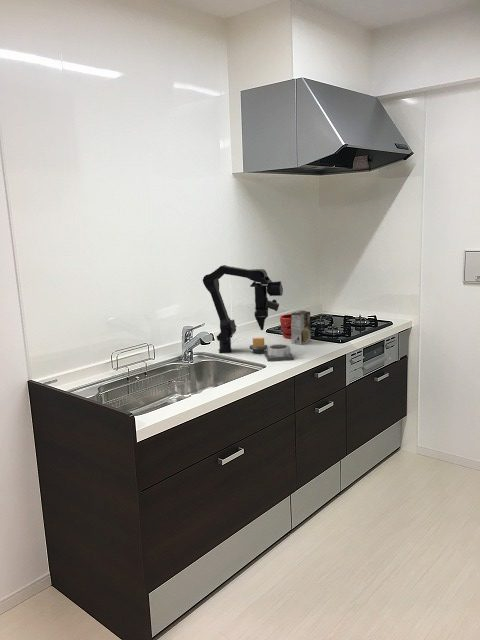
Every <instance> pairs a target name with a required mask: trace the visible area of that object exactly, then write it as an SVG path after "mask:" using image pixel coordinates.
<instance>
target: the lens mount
mask: <svg viewBox="0 0 480 640" xmlns="http://www.w3.org/2000/svg"><path fill="white" fill-rule="evenodd" d="M263 354H264V357H265V359H266V360H267V362H279V361H294V359H295V357H294V355H293V353H292V352H291V346H290V345H289V344H284V343H282V344H281V343H280V344H279V343H278V344H275V343H274V344H270V345H267V349H266V351H265V352H264V353H263Z"/></svg>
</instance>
